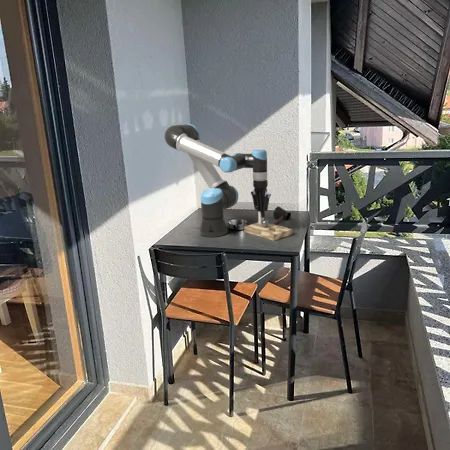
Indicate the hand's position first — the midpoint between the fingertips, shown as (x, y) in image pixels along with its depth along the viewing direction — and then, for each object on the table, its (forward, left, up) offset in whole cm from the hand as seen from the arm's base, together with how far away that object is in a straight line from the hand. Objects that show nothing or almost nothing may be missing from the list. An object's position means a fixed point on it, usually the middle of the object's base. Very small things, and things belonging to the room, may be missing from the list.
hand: (261, 222), depth 236 cm
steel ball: (0, -3, 0) cm, 3 cm away
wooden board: (0, -5, -5) cm, 7 cm away
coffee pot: (+21, +8, -5) cm, 23 cm away
